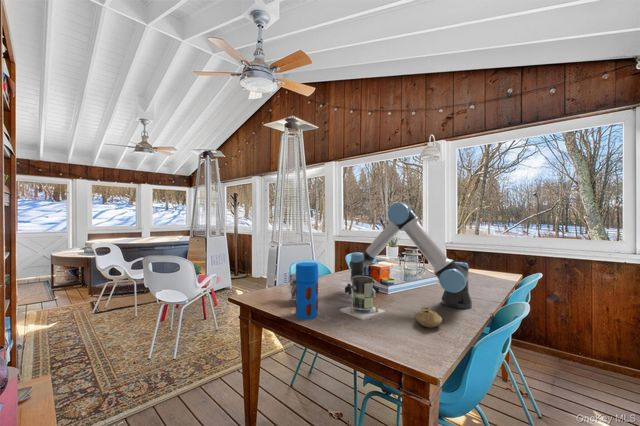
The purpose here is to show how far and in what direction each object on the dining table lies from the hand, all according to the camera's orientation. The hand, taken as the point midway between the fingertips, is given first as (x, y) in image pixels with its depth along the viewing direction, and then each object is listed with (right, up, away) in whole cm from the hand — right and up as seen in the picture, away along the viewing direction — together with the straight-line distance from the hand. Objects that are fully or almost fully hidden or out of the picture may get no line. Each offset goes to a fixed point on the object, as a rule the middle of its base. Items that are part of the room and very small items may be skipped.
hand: (363, 294), depth 143 cm
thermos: (-28, -10, -1) cm, 29 cm away
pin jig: (0, -10, +4) cm, 11 cm away
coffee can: (0, -8, +4) cm, 9 cm away
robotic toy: (-33, -10, +21) cm, 41 cm away
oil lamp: (+27, -10, -12) cm, 31 cm away
